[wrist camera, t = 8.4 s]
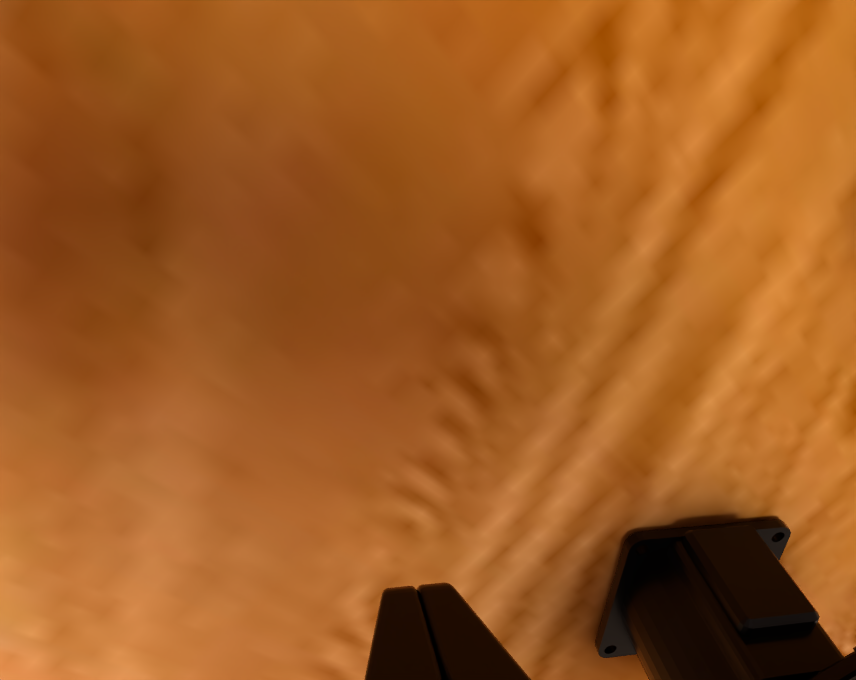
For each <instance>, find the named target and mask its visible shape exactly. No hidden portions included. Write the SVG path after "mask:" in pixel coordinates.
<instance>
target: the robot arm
mask: <svg viewBox="0 0 856 680" xmlns="http://www.w3.org/2000/svg"><path fill="white" fill-rule="evenodd" d="M790 534H791V532H790V529H789V528H788V527H787V526H786V524H785V523H784V522H783V521H781V520H766V521H754V522H743V523H732V524H720V525H709V526H698V527H686V528H675V529H664V530H652V531H641V532H636V533H634V534H632V535H630V536H629V537H628V538H627V539H626V541H625V543H624V546H623V549H622V552H621V556H620V559H619V563H618V566H617V569H616V573H615V576H614V579H613V583H612V586H611V590H610V593H609V596H608V600H607V603H606V606H605V610H604V613H603V617H602V620H601V623H600V627H599V630H598V634H597V637H596V640H595V647H596V649H597V652H598V654H599V655H600V656H601V657H603V658H610V657H618V656H626V655H634V654H637V656H638V658H639V660H640V662H641V664H642V666H643V668H644V670H645V672H646V674H647V676H648V678H649V680H856V647H854V648H853V649H854V652H852V653H850V654H849V655H847V656H845V657H844V656H843V655H842V653H841V652H840V651H839V649H838V648H837V647H836V645H835V644H834V643H833V641H832V640H831V639H830V637H829V636H828V635H827V633H826V632H825V631H824V629H823V628H822V627H821V625H820V624H819V622H818V620H819V614H818V612H817V611H816V610H815V608H814V607H813V606H812V604H811V603H810V602H809V600H808V599H807V598H806V596H805V595H804V594H803V592H802V591H801V590H800V588H799V587H798V586H797V584H796V583H795V582H794V580H793V579H792V578H791V576H790V575H789V574H788V572H787V571H786V570H785V568H784V567H783V566H782V564H781V563H780V562H779V560H780V557H781V555H782V553H783V551H784V548H785V546H786V544H787V542H788V539H789V537H790ZM365 680H531V679H530V678H529V677H528V676H527V674H526V673H525V672H524V671H523V670H522V668H521V667H520V666H519V665H518V664H517V662H516V661H515V660H514V659H513V658H512V656H511V655H510V654H509V653H508V652H507V650H506V649H505V648H504V647H503V646H502V644H501V643H500V642H499V641H498V640H497V638H496V637H495V636H494V635H493V634H492V632H491V631H490V630H489V629H488V628H487V626H486V625H485V624H484V623H483V622H482V620H481V619H480V618H479V617H478V616H477V614H476V613H475V612H474V611H473V610H472V609H471V607H470V606H469V605H468V604H467V603H466V601H465V600H464V599H463V598H462V597H461V595H460V594H459V593H458V592H457V591H456V589H455V588H454V587H453V586H452V585H450V584H448V583H435V584H425V585H420V586H419V587H418V588H417V590H416V589H415V588H414V587H413V586H405V587H395V588H387V589H385V590H384V591H383V593H382V596H381V601H380V606H379V611H378V616H377V620H376V625H375V630H374V635H373V640H372V645H371V650H370V655H369V660H368V665H367V670H366V675H365Z"/></svg>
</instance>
